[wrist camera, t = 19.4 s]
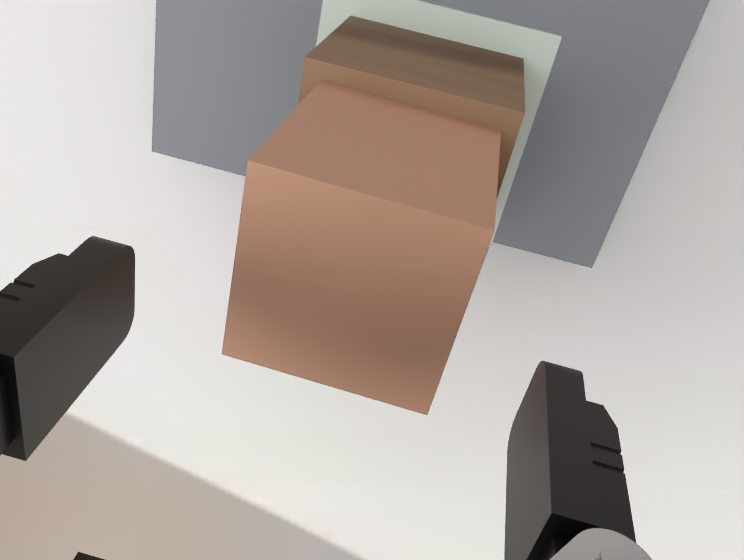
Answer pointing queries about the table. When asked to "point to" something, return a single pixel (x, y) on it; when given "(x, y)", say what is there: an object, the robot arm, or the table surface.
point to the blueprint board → (460, 24)
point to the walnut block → (424, 75)
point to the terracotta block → (362, 244)
